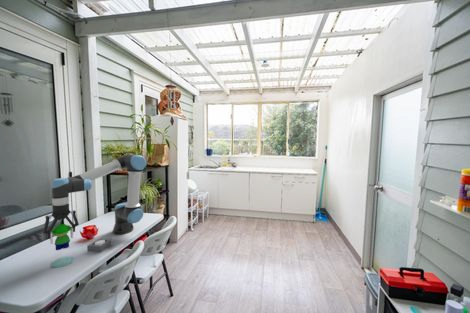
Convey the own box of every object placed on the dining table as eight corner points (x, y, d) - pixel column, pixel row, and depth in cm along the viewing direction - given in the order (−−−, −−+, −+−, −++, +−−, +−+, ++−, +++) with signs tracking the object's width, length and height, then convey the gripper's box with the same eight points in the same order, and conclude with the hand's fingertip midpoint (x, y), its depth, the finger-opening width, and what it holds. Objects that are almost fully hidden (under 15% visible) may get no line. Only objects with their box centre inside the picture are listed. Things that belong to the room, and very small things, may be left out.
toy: (71, 243, 125) (70, 220, 124) (72, 248, 119) (71, 224, 118) (52, 247, 119) (51, 224, 118) (52, 253, 113) (51, 228, 112)
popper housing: (99, 243, 142) (99, 238, 142) (111, 244, 141) (111, 239, 140) (87, 251, 132) (87, 245, 132) (100, 252, 131) (100, 246, 130)
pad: (72, 254, 127) (72, 254, 127) (76, 261, 121) (76, 260, 121) (49, 262, 119) (49, 262, 119) (52, 270, 112) (52, 269, 112)
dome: (99, 243, 139) (99, 239, 139) (107, 244, 139) (107, 240, 139) (92, 248, 134) (92, 244, 133) (100, 248, 133) (100, 244, 133)
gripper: (81, 199, 128) (82, 232, 130) (34, 206, 111) (36, 245, 113) (84, 201, 124) (85, 235, 125) (36, 209, 107) (38, 249, 108)
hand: (62, 240), depth 119 cm, fingers closed on toy, 9 cm apart
